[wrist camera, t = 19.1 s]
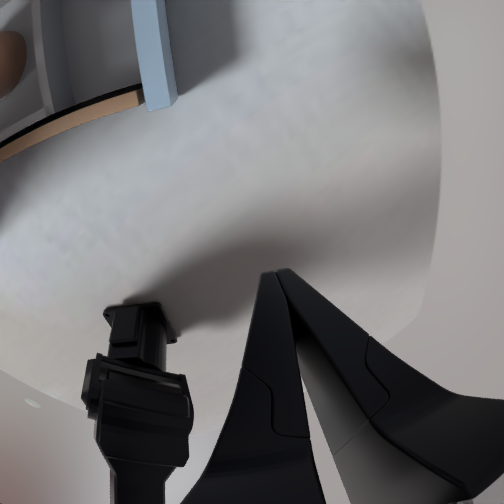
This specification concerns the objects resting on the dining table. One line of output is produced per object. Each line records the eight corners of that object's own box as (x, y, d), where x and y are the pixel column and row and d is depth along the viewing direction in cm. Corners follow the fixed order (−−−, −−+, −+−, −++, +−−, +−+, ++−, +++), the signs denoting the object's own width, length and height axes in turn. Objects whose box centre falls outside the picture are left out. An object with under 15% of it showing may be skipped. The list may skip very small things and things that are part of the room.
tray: (178, 98, 15) (170, 106, 12) (-17, 174, 14) (-47, 199, 10) (159, -78, 6) (150, -107, 3) (-41, 29, 5) (-73, 34, 1)
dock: (154, 96, 15) (138, 105, 11) (-23, 172, 14) (-56, 200, 10) (137, -68, 7) (121, -97, 3) (-46, 40, 5) (-81, 47, 1)
